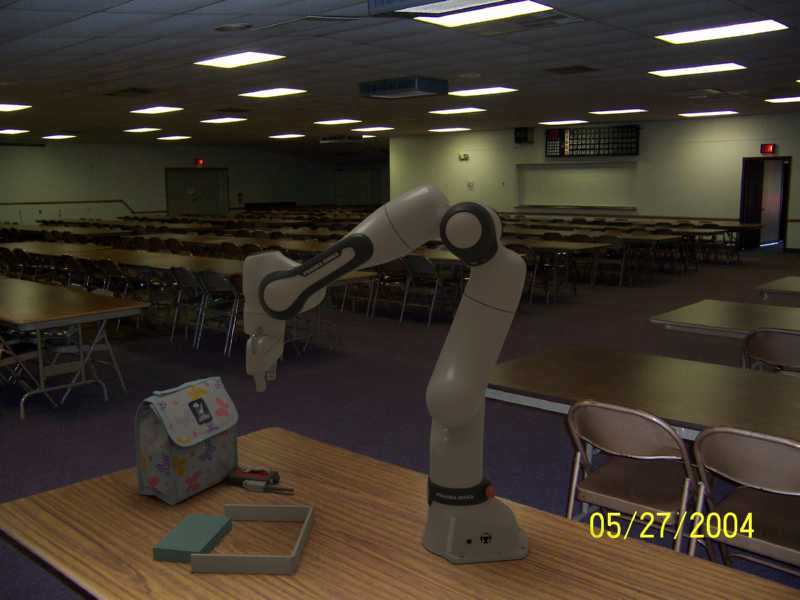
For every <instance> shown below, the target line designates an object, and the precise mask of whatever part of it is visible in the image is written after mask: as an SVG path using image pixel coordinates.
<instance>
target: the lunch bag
mask: <svg viewBox="0 0 800 600" xmlns="http://www.w3.org/2000/svg"><path fill="white" fill-rule="evenodd" d="M152 394H153V395H152V396H151V395H150V396H149V397H147V398H145V399H143V400H142V402H141V403H140V404H139V406H138V408H137V410H136V413H135V419H134V434H135V435H134V436H135V437H134V438H135V450H136V451H135V454H136V455H135V456H136V475H137V477H136V478H137V488H138V493H139V494H142V495H144V496H156V497H157V498H158V499H161V500H162V501H163V502H165V503H167V504H169V505H170V506H176V504H179V503H180V502H182V501H184V500H186V499H188V498H191V497H192V496H194V495H197V494H198V493H200V492H202V491H204V490H206V489H208V488H211V487H212V486H215V485H217V484H219V483H222V482H224V479H225V478H229V476H228V475H229V473H230V472H231V471H233V470H234V469H235V468H237V467H239V457H238V456H239V454H238V437H237V435H238V433H237V423H238V421H239V413H238V409H237V408H236V405H235V403H234V401H233V400H232V399H231V397H230V395H229V394H228V392H227V390H226V387H225V386H224V384H223V382H222V379H221V377H220V376H212V377H211V376H210V377H207V378H202V379H197V380H192V381H188V382H185V383H182V384H181V385H179V386H177V387H174V388H170V389H166V390H162V391H161V390H160V391H159V390H155V391H152Z"/></svg>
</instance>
